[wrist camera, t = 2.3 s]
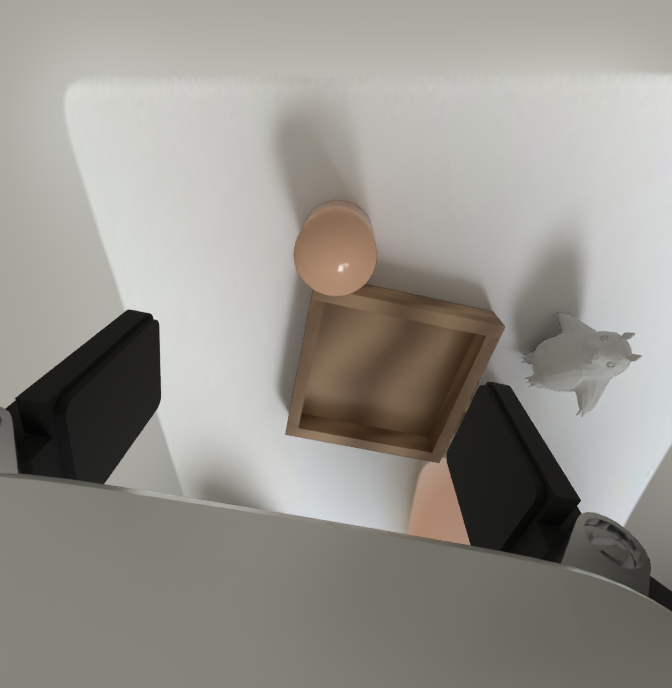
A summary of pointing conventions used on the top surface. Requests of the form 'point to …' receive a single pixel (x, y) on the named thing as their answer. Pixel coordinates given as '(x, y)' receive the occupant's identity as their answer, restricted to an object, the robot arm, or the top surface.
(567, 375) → the figurine
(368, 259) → the oval beige cylinder
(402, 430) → the walnut tray
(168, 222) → the top surface
